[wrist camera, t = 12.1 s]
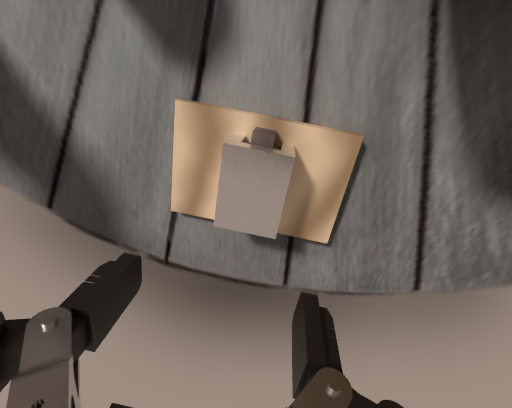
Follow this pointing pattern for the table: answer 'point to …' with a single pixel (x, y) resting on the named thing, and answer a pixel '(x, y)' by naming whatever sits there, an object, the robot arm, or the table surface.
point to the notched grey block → (252, 186)
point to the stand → (272, 136)
